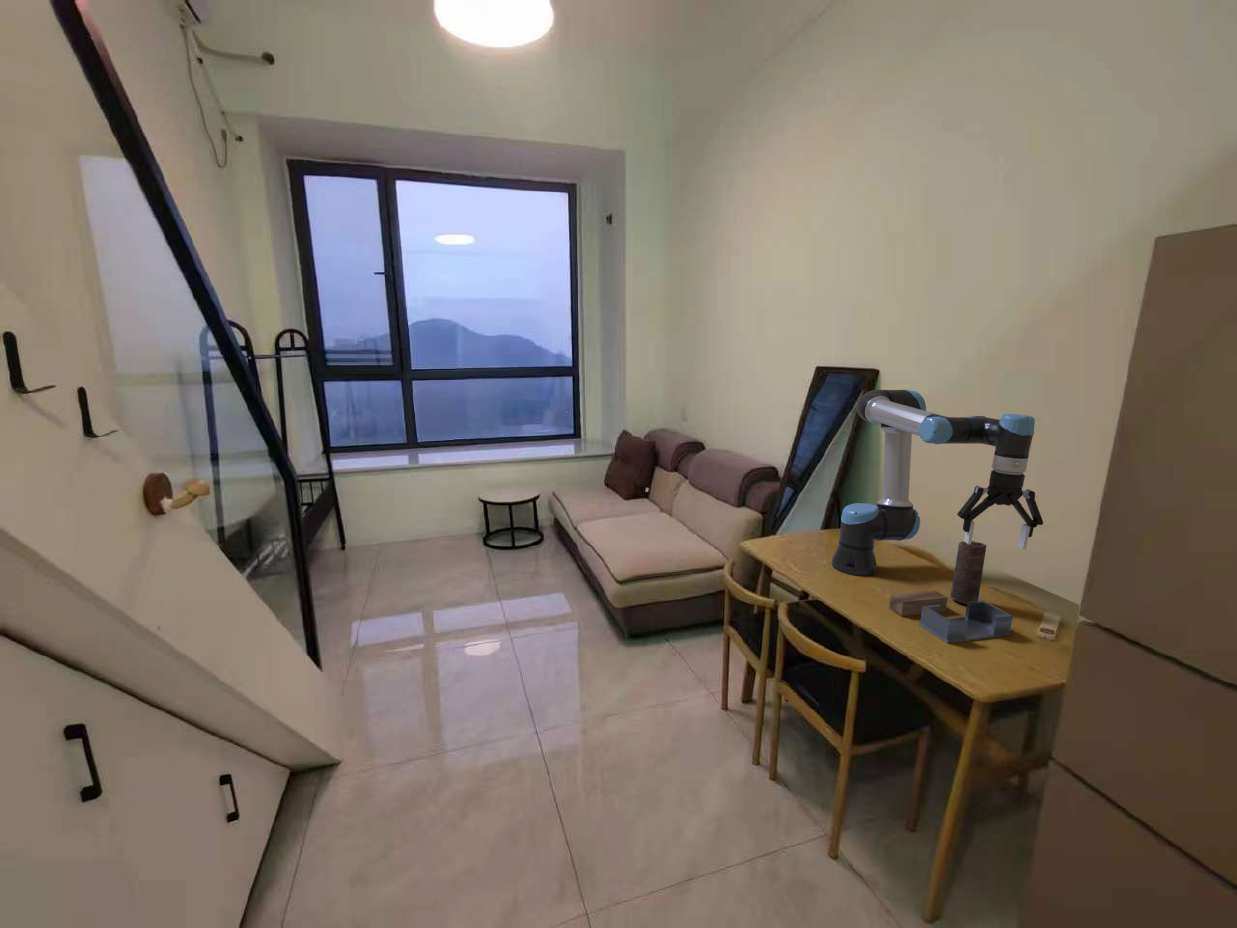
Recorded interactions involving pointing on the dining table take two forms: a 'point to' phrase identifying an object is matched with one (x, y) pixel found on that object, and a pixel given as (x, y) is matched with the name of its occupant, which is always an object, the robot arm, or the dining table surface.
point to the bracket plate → (967, 622)
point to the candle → (968, 572)
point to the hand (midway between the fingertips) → (994, 545)
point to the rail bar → (916, 602)
